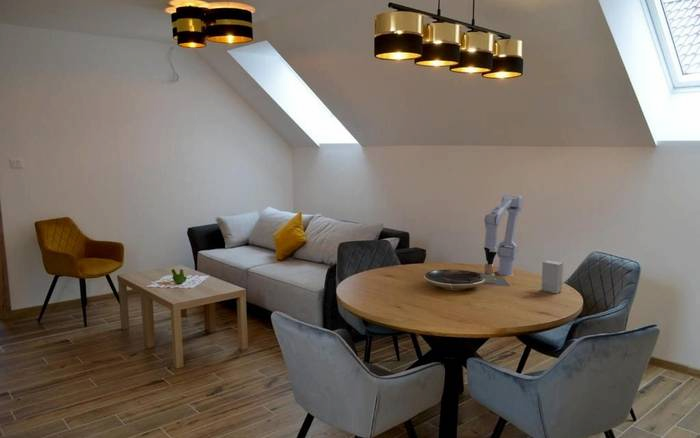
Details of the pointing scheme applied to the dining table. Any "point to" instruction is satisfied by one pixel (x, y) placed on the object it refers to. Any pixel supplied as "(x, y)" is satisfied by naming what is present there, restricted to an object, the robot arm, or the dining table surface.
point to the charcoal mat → (498, 282)
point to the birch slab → (489, 280)
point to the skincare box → (552, 276)
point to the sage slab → (488, 276)
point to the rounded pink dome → (489, 269)
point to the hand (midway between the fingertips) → (489, 262)
